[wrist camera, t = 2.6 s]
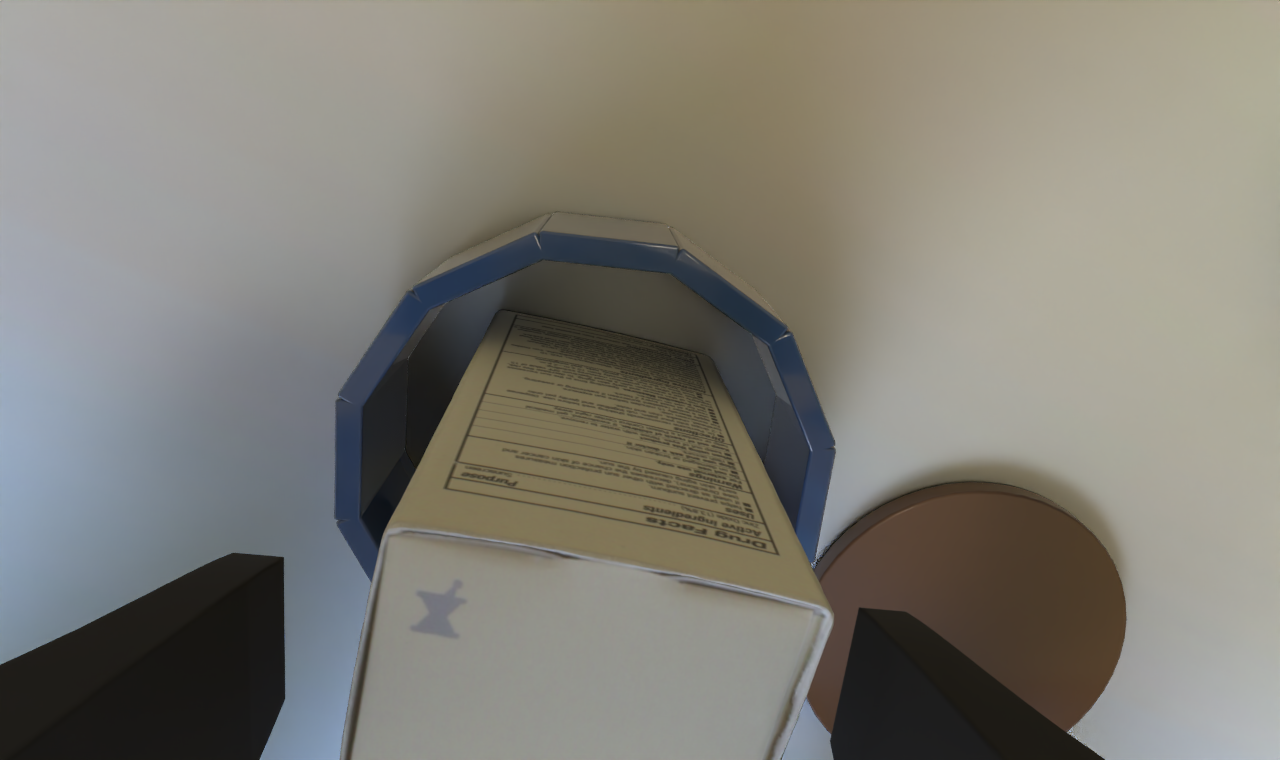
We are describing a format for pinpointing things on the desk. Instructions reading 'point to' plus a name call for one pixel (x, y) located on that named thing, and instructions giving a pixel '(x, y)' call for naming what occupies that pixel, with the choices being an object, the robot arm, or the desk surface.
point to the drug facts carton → (586, 569)
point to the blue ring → (378, 384)
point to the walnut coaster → (982, 592)
